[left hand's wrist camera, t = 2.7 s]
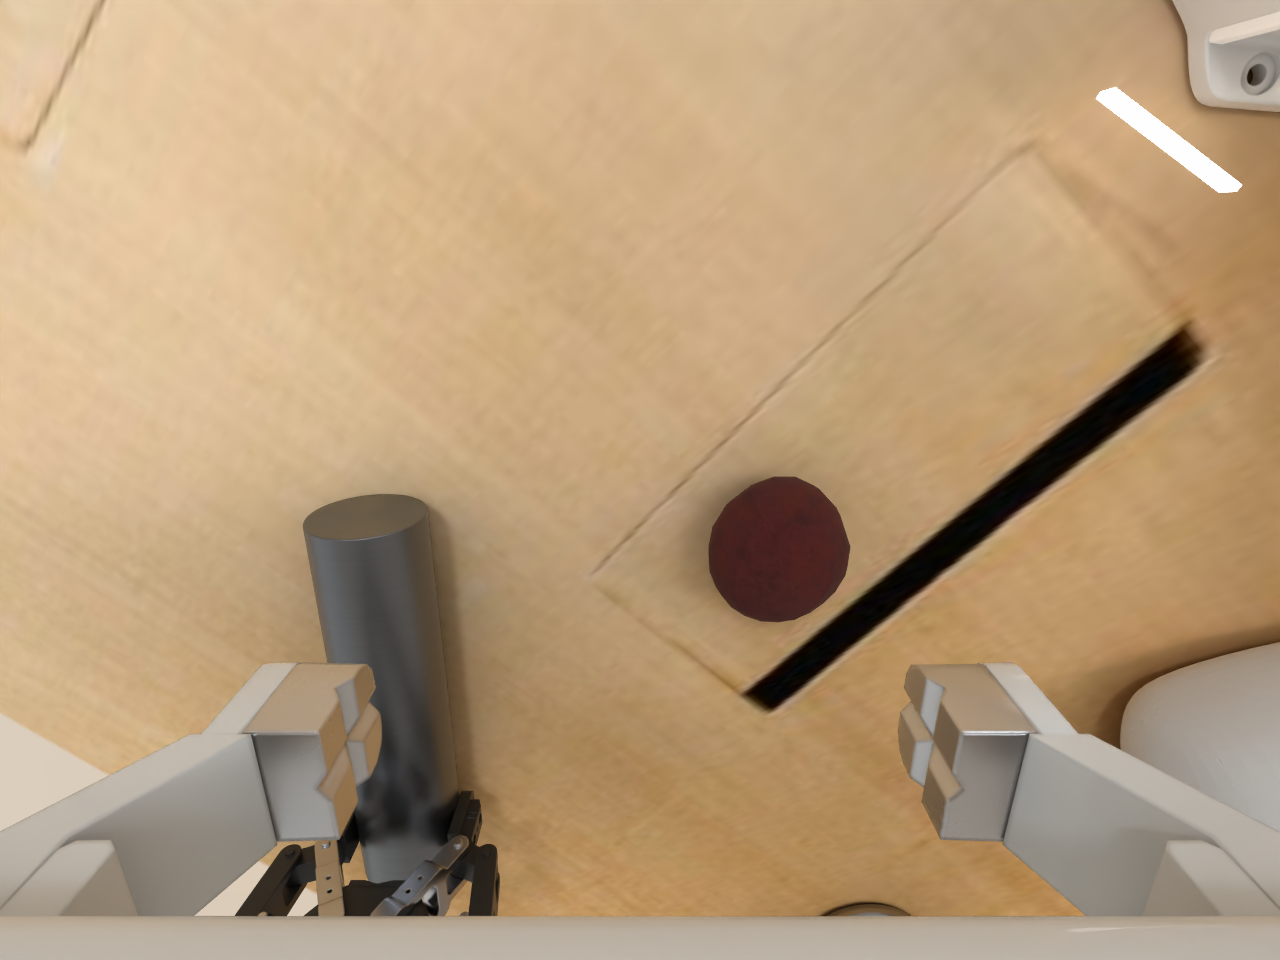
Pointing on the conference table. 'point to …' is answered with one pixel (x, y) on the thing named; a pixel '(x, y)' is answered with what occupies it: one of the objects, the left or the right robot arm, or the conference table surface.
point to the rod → (390, 669)
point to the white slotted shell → (1215, 729)
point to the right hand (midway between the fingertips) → (416, 801)
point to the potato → (778, 550)
